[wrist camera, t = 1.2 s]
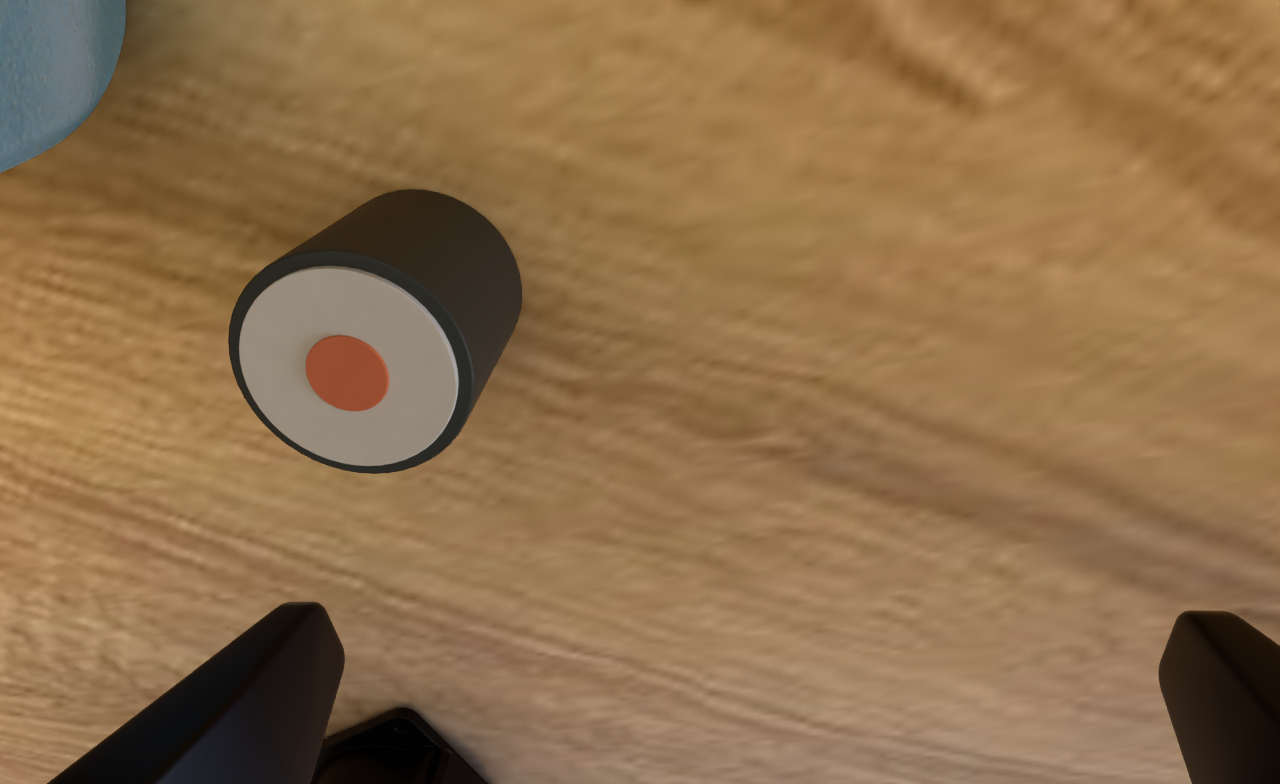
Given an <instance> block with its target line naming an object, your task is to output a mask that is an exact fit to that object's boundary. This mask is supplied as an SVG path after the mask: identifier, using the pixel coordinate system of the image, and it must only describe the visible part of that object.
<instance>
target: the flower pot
mask: <svg viewBox="0 0 1280 784" xmlns="http://www.w3.org/2000/svg"><path fill="white" fill-rule="evenodd" d="M125 28H126V0H0V173H1V172H4V171H6V170H8V169H11V168H13V167H15V166H17V165H19V164H22V163H24V162H26V161H28V160H30V159H32V158H34V157H36V156H38V155H40V154H41V153H43V152H45V151H47V150H48V149H50V148H52V147H54V146H55V145H57V144H58V143H60V142H61V141H63V140H64V139H65V138H66V137H68V136H69V135H70V134H71V133H73V132H74V131H75V130H76V129H77V128H78V127H79V126H80V125H81V124H82V123H83V122H84V121H85V120H86V119H87V118H88V117H89V115H90V114H91V113H92V112H93V110H94V109H95V107H96V106H97V104H98V103H99V101H100V99H101V97H102V96H103V94H104V92H105V91H106V89H107V87H108V85H109V82H110V80H111V78H112V75H113V73H114V71H115V67H116V64H117V61H118V58H119V54H120V51H121V47H122V43H123V38H124V34H125Z"/></svg>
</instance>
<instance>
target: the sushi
mask: <svg viewBox="0 0 1280 784" xmlns="http://www.w3.org/2000/svg"><path fill="white" fill-rule="evenodd" d="M521 301H522V286H521V280H520V274H519V270H518V267H517V264H516V261H515V259H514V256H513V254H512V252H511V250H510V248H509V246H508V245H507V243H506V241H505V240H504V238H503V237H502V236H501V234H500V233H499V232H498V231H497V229H496V228H495V227H494V226H493V225H492V224H491V223H490V222H489V221H488V220H487V219H486V218H485V217H484V216H482V215H481V214H480V213H479V212H477V211H476V210H475V209H473V208H471V207H470V206H468V205H466V204H465V203H463V202H461V201H459V200H457V199H454V198H452V197H450V196H447V195H444V194H440V193H437V192H431V191H426V190H400V191H395V192H390V193H386V194H384V195H381V196H378V197H376V198H374V199H372V200H370V201H369V202H367V203H365V204H363V205H362V206H360V207H359V208H357V209H356V210H354V211H352V212H351V213H349V214H348V215H346V216H345V217H343V218H341V219H340V220H338V221H337V222H335V223H334V224H332V225H331V226H329V227H327V228H326V229H324V230H323V231H321V232H320V233H318V234H316V235H315V236H313V237H312V238H310V239H309V240H307V241H305V242H304V243H302V244H301V245H299V246H298V247H296V248H294V249H293V250H291V251H290V252H288V253H287V254H285V255H284V256H282V257H280V258H279V259H277V260H276V261H274V262H273V263H271V264H269V265H268V266H266V267H265V268H264V269H263V270H261V271H260V272H259V273H258V274H256V275H255V276H254V277H253V279H252V280H251V281H250V282H249V283H248V284H247V285H246V287H245V288H244V290H243V291H242V293H241V295H240V296H239V298H238V300H237V302H236V305H235V307H234V310H233V313H232V317H231V322H230V326H229V339H228V343H229V356H230V360H231V365H232V369H233V372H234V375H235V378H236V381H237V383H238V386H239V388H240V390H241V392H242V394H243V396H244V398H245V399H246V401H247V402H248V404H249V405H250V407H251V408H252V410H253V411H254V413H255V414H256V415H257V416H258V417H259V419H260V420H261V421H262V422H263V423H264V424H265V425H266V426H267V427H268V428H269V429H270V430H271V431H272V432H273V433H274V434H275V435H276V436H277V437H279V438H280V439H281V440H282V441H284V442H285V443H286V444H287V445H289V446H290V447H292V448H293V449H295V450H297V451H298V452H300V453H301V454H303V455H305V456H307V457H309V458H311V459H313V460H315V461H318V462H320V463H323V464H325V465H328V466H331V467H334V468H338V469H342V470H346V471H352V472H358V473H371V474H376V473H390V472H396V471H402V470H405V469H409V468H412V467H415V466H417V465H420V464H422V463H424V462H426V461H428V460H430V459H432V458H433V457H435V456H436V455H438V454H439V453H441V452H442V451H443V450H444V449H445V448H447V447H448V446H449V445H450V444H451V443H452V442H453V440H454V439H455V438H456V437H457V436H458V434H459V433H460V431H461V429H462V428H463V426H464V425H465V423H466V421H467V419H468V417H469V415H470V413H471V411H472V409H473V407H474V406H475V404H476V402H477V400H478V398H479V396H480V394H481V392H482V390H483V388H484V386H485V384H486V382H487V381H488V379H489V377H490V375H491V373H492V371H493V369H494V367H495V365H496V363H497V361H498V359H499V357H500V356H501V354H502V352H503V350H504V348H505V346H506V344H507V342H508V340H509V338H510V336H511V334H512V332H513V331H514V328H515V326H516V323H517V321H518V317H519V314H520V310H521Z"/></svg>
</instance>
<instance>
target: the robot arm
mask: <svg viewBox="0 0 1280 784" xmlns="http://www.w3.org/2000/svg"><path fill="white" fill-rule="evenodd" d="M344 663H345V655H344V649H343V646H342V644H341V641H340V639H339V637H338V635H337V633H336V631H335V629H334V626H333V624H332V622H331V620H330V618H329V616H328V613H327V611H326V609H325V608H324V607H323V606H322V605H321V604H319V603H317V602H287V603H284V604H282V605H280V606H278V607H277V608H275V609H274V610H273V611H271V612H270V613H269V614H268V615H266V616H265V617H264V618H262V619H261V620H260V621H258V622H257V623H256V624H254V625H253V626H252V627H251V628H249V629H248V630H247V631H245V632H244V633H243V634H241V635H240V636H239V637H237V638H236V639H235V640H234V641H232V642H231V643H230V644H228V645H227V646H226V647H224V648H223V649H222V650H221V651H219V652H218V653H217V654H215V655H214V656H213V657H211V658H210V659H209V660H207V661H206V662H205V663H204V664H202V665H201V666H200V667H198V668H197V669H196V670H194V671H193V672H192V673H191V674H189V675H188V676H187V677H185V678H184V679H183V680H181V681H180V682H179V683H177V684H176V685H175V686H174V687H172V688H171V689H170V690H168V691H167V692H166V693H164V694H163V695H162V696H161V697H159V698H158V699H157V700H155V701H154V702H153V703H151V704H150V705H149V706H147V707H146V708H145V709H144V710H142V711H141V712H140V713H138V714H137V715H136V716H134V717H133V718H132V719H131V720H129V721H128V722H127V723H125V724H124V725H123V726H121V727H120V728H119V729H117V730H116V731H115V732H114V733H112V734H111V735H110V736H108V737H107V738H106V739H104V740H103V741H102V742H100V743H99V744H98V745H97V746H95V747H94V748H93V749H91V750H90V751H89V752H87V753H86V754H85V755H84V756H82V757H81V758H80V759H78V760H77V761H76V762H74V763H73V764H72V765H70V766H69V767H68V768H67V769H65V770H64V771H63V772H61V773H60V774H59V775H57V776H56V777H55V778H54V779H52V780H51V781H50V782H48V783H47V784H488V783H487V782H486V781H485V780H484V779H483V778H482V777H481V776H480V775H479V774H478V773H477V772H476V771H475V770H474V769H473V768H472V767H471V766H470V765H469V764H468V763H467V762H466V761H465V760H464V759H463V758H462V757H461V756H460V755H459V754H458V753H457V752H456V751H455V750H454V749H453V748H452V747H451V746H450V745H449V744H448V743H447V742H446V741H445V740H444V739H443V738H442V737H441V736H440V735H439V734H438V733H437V732H436V731H435V730H434V729H433V728H432V727H431V726H430V725H429V724H428V723H427V722H426V721H425V720H424V719H423V718H422V717H421V716H420V715H419V714H418V713H416V712H415V711H414V710H412V709H409V708H398V709H395V710H393V711H390V712H388V713H386V714H383V715H381V716H379V717H377V718H374V719H372V720H370V721H367V722H365V723H363V724H360V725H358V726H356V727H354V728H351V729H349V730H347V731H344V732H342V733H340V734H337V735H335V736H333V737H331V738H328V739H326V740H324V741H323V739H324V735H325V732H326V728H327V725H328V721H329V718H330V715H331V711H332V708H333V704H334V701H335V698H336V694H337V691H338V687H339V684H340V680H341V677H342V674H343V670H344ZM1159 682H1160V687H1161V691H1162V694H1163V697H1164V700H1165V703H1166V706H1167V709H1168V712H1169V715H1170V718H1171V721H1172V725H1173V728H1174V731H1175V734H1176V737H1177V740H1178V743H1179V746H1180V749H1181V752H1182V755H1183V758H1184V761H1185V764H1186V767H1187V770H1188V773H1189V776H1190V779H1191V782H1192V784H1280V646H1279V645H1278V644H1277V643H1275V642H1274V641H1272V640H1271V639H1270V638H1268V637H1267V636H1265V635H1264V634H1263V633H1261V632H1260V631H1258V630H1257V629H1256V628H1254V627H1253V626H1252V625H1250V624H1249V623H1247V622H1246V621H1245V620H1243V619H1242V618H1240V617H1238V616H1237V615H1235V614H1233V613H1230V612H1226V611H1185V612H1183V613H1182V614H1181V615H1179V616H1178V618H1177V620H1176V622H1175V624H1174V627H1173V629H1172V632H1171V635H1170V637H1169V640H1168V643H1167V645H1166V648H1165V651H1164V653H1163V656H1162V658H1161V661H1160V665H1159Z"/></svg>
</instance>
